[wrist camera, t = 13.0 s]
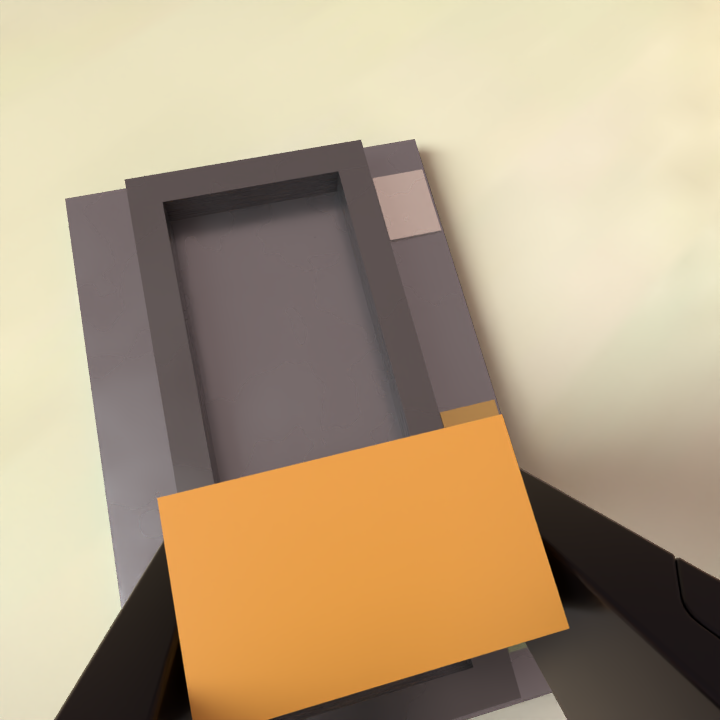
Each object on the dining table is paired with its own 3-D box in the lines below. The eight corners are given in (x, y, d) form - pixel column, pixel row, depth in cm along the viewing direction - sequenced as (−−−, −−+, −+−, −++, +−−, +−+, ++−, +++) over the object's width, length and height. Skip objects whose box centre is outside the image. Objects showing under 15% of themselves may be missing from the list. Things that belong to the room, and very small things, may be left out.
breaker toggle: (426, 590, 17) (621, 700, 6) (267, 635, 16) (178, 844, 6) (391, 452, 18) (505, 346, 7) (238, 490, 17) (118, 432, 7)
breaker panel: (573, 675, 17) (605, 693, 15) (158, 805, 16) (137, 844, 14) (410, 152, 22) (420, 116, 20) (74, 211, 20) (49, 178, 18)
